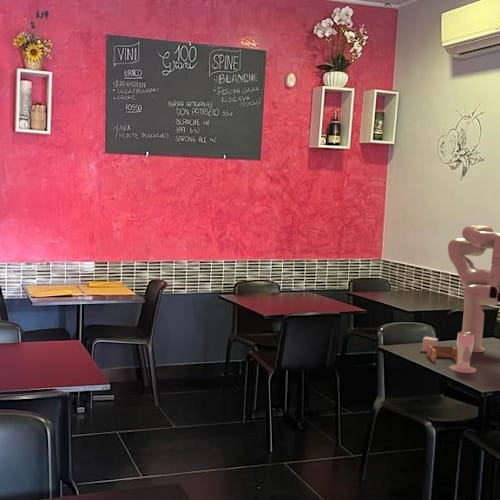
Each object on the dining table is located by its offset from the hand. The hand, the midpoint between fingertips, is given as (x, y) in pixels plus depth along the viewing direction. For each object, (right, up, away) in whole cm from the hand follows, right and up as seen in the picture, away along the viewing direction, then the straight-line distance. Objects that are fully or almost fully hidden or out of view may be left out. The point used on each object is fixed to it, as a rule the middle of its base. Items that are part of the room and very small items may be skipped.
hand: (496, 299), depth 306 cm
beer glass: (-20, -28, -14) cm, 37 cm away
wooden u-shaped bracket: (-24, -27, +1) cm, 36 cm away
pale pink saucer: (-20, -29, -14) cm, 38 cm away
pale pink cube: (-26, -26, +17) cm, 40 cm away
